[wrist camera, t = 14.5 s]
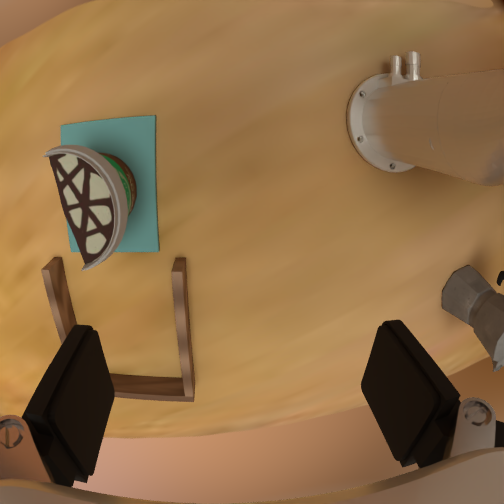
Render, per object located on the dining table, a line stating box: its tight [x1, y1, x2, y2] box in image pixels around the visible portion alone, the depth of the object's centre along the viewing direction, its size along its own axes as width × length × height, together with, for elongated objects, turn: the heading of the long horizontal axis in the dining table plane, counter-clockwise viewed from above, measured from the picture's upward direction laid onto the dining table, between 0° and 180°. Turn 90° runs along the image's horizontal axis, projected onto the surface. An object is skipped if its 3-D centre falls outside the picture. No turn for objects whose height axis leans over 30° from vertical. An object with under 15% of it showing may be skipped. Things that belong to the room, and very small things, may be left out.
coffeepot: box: [442, 265, 504, 372], centre depth 36 cm, size 15×9×18 cm, turn 175°
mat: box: [61, 116, 159, 252], centre depth 34 cm, size 16×12×1 cm
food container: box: [43, 145, 137, 271], centre depth 29 cm, size 12×6×10 cm, turn 13°
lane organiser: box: [41, 257, 195, 402], centre depth 39 cm, size 21×18×4 cm
